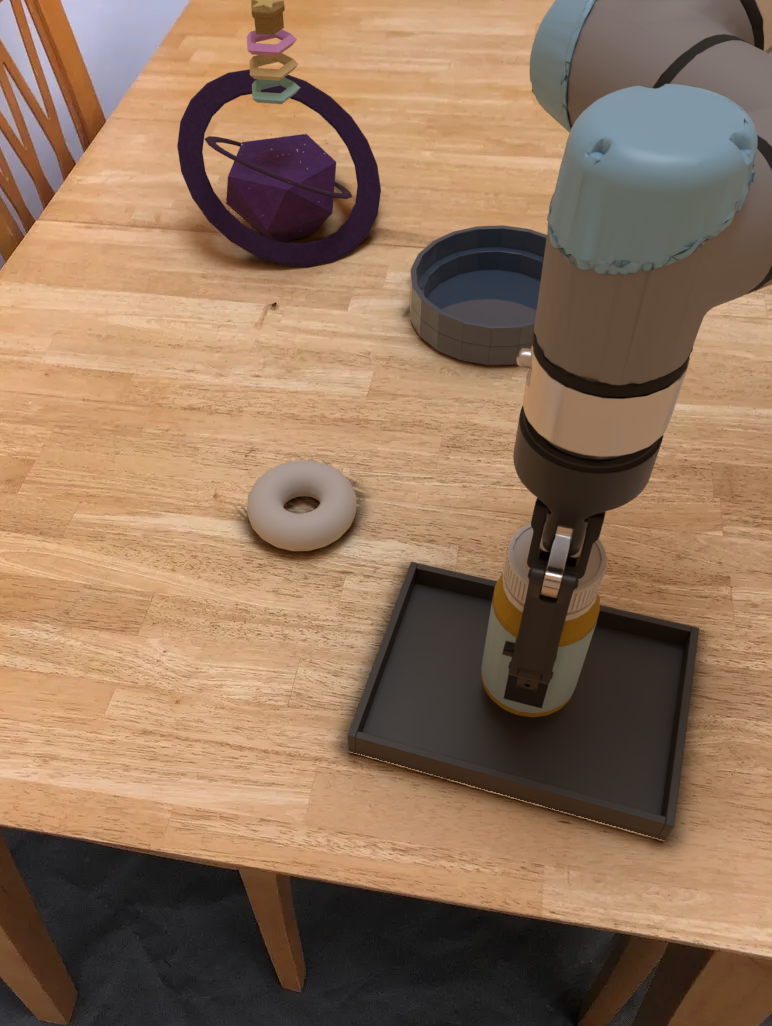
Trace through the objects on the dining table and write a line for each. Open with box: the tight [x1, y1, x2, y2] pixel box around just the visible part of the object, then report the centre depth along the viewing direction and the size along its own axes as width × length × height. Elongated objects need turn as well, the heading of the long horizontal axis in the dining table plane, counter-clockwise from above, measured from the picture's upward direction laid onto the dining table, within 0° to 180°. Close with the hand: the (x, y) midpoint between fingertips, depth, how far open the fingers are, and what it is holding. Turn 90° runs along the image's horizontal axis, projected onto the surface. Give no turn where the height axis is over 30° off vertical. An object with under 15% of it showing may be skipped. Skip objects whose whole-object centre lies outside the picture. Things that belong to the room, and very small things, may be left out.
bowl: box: [409, 224, 547, 366], centre depth 99 cm, size 18×18×5 cm
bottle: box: [481, 522, 608, 717], centre depth 64 cm, size 7×7×15 cm
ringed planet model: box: [176, 0, 382, 268], centre depth 103 cm, size 22×21×25 cm
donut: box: [246, 459, 358, 552], centre depth 83 cm, size 10×3×10 cm
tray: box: [347, 561, 700, 841], centre depth 71 cm, size 23×17×3 cm
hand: (534, 654), depth 67 cm, fingers closed on bottle, 7 cm apart
